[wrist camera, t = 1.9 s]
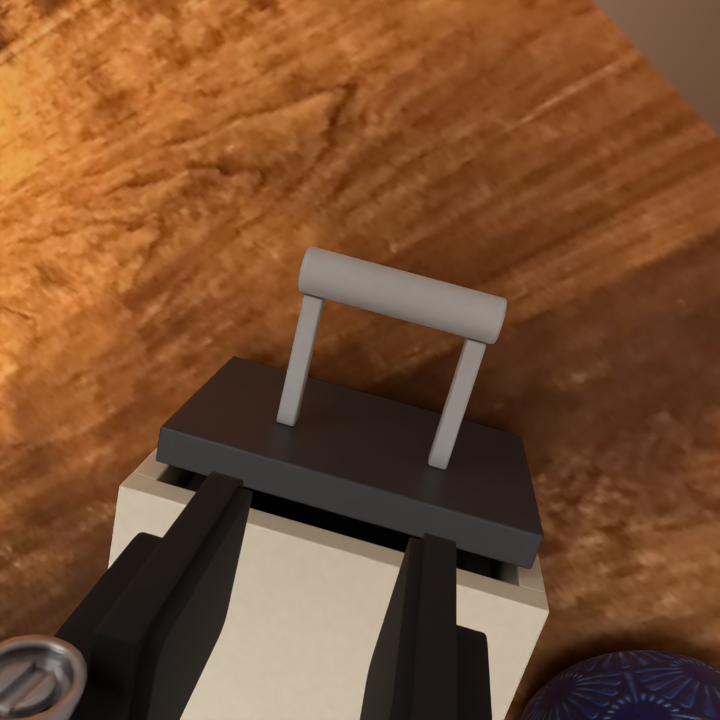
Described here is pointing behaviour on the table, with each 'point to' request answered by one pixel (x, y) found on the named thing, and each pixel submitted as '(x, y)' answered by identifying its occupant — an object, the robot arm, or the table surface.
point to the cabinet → (320, 611)
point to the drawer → (367, 430)
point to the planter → (630, 689)
